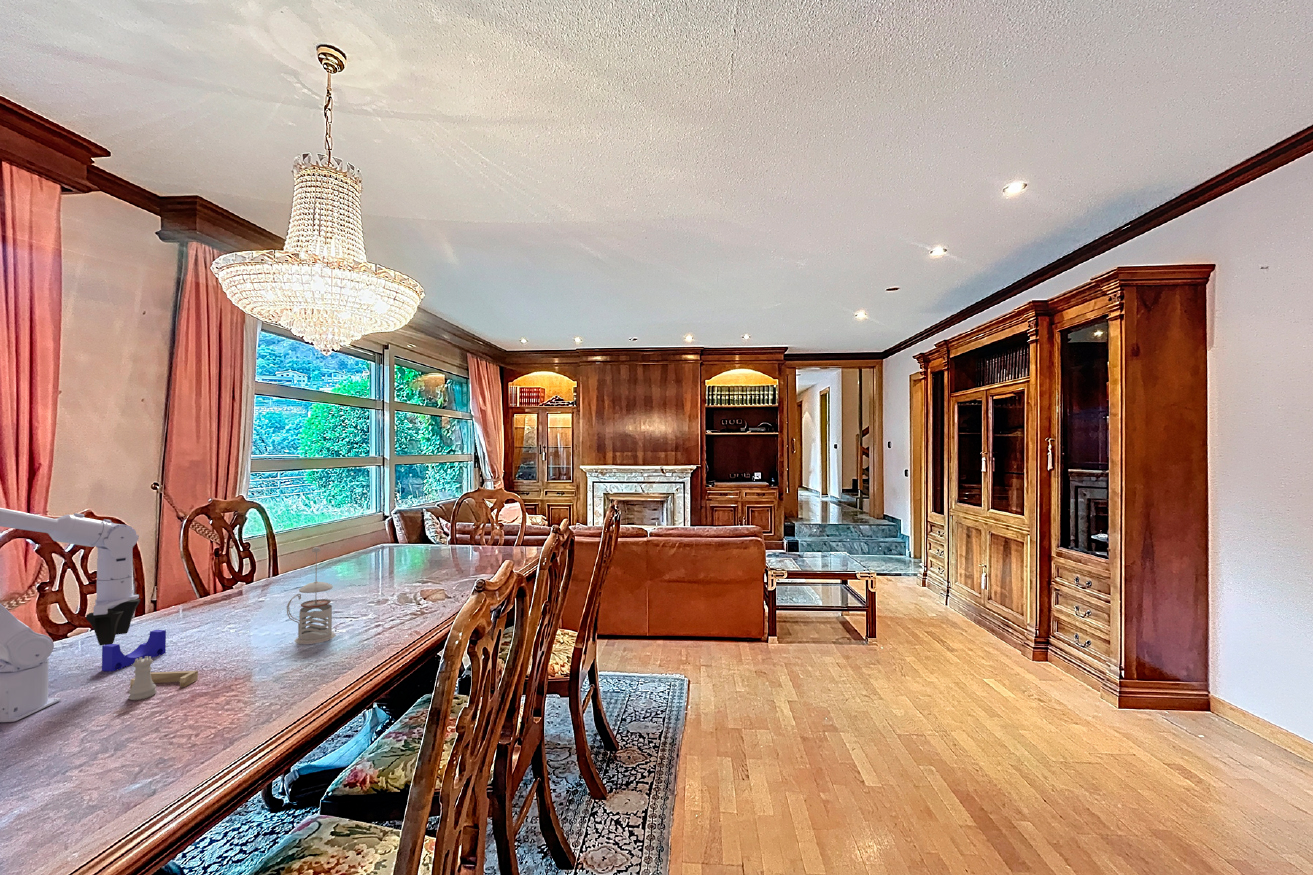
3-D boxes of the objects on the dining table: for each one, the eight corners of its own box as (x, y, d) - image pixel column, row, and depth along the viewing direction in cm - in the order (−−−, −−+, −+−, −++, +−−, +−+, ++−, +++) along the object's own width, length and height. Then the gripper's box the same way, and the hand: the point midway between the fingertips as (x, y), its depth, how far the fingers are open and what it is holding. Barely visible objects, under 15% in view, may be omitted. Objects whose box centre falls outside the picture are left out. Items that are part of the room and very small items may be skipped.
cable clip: (151, 652, 144) (151, 629, 144) (165, 653, 143) (165, 630, 143) (96, 670, 132) (97, 645, 133) (111, 672, 132) (112, 646, 132)
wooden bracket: (184, 686, 123) (184, 677, 123) (130, 689, 122) (130, 679, 122) (197, 679, 127) (197, 670, 127) (145, 681, 126) (145, 672, 126)
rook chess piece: (154, 689, 122) (154, 652, 122) (158, 695, 119) (159, 657, 119) (126, 696, 118) (126, 658, 118) (130, 703, 115) (130, 663, 115)
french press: (332, 641, 152) (333, 548, 152) (282, 646, 148) (283, 551, 148) (338, 630, 161) (339, 543, 162) (291, 635, 157) (292, 545, 157)
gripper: (124, 582, 120) (123, 646, 120) (150, 569, 133) (149, 626, 133) (80, 586, 117) (79, 651, 117) (111, 572, 130) (110, 631, 130)
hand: (114, 638), depth 125 cm, fingers open, 7 cm apart
